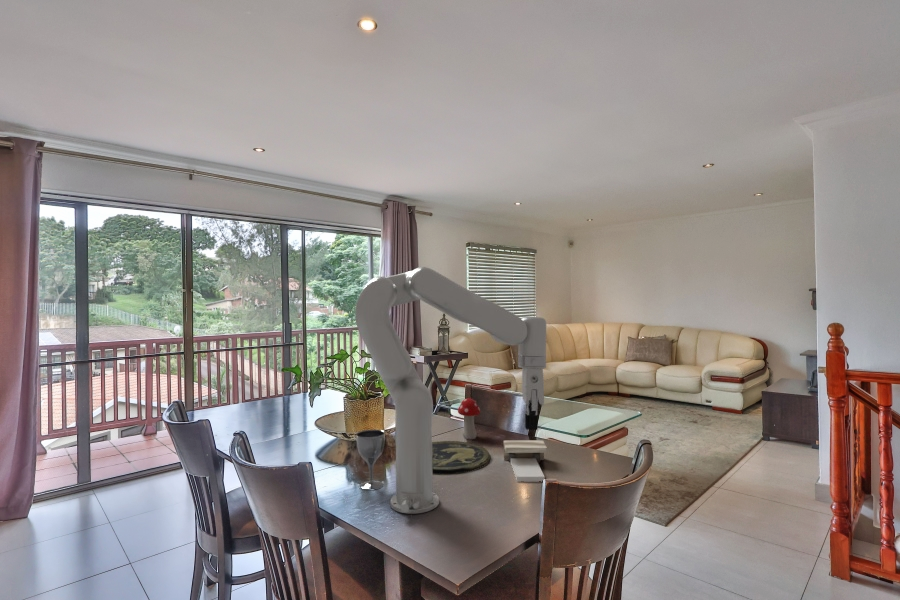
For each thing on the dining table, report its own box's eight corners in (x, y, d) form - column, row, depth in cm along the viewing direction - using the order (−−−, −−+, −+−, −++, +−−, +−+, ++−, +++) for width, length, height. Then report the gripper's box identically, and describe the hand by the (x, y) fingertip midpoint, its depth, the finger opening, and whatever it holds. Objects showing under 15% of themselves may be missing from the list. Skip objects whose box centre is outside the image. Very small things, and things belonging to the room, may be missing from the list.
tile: (544, 483, 134) (544, 476, 134) (516, 483, 134) (516, 476, 134) (535, 464, 150) (535, 458, 150) (510, 464, 150) (510, 458, 150)
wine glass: (391, 484, 133) (390, 432, 133) (369, 493, 127) (368, 438, 127) (373, 478, 139) (372, 428, 139) (351, 486, 133) (350, 433, 133)
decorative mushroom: (455, 434, 183) (454, 396, 183) (475, 432, 186) (474, 395, 186) (463, 441, 174) (462, 401, 174) (484, 439, 176) (484, 400, 176)
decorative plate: (388, 466, 144) (414, 438, 174) (388, 472, 144) (414, 443, 174) (484, 472, 138) (494, 442, 168) (484, 478, 138) (494, 447, 168)
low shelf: (547, 467, 146) (546, 447, 146) (505, 467, 146) (505, 447, 146) (543, 458, 154) (542, 440, 154) (503, 458, 154) (503, 440, 154)
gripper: (550, 365, 120) (549, 436, 119) (541, 359, 135) (540, 422, 134) (521, 365, 120) (520, 436, 120) (515, 358, 135) (514, 421, 135)
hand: (531, 428), depth 127 cm, fingers closed
